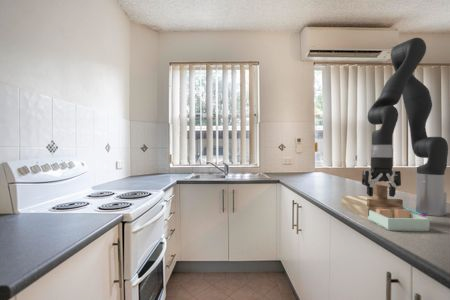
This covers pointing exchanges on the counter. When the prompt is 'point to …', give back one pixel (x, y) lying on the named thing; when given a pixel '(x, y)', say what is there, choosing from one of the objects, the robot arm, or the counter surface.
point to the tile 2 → (401, 213)
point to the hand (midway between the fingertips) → (380, 196)
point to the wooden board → (362, 205)
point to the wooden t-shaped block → (383, 198)
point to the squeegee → (414, 211)
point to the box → (400, 222)
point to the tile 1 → (384, 212)
